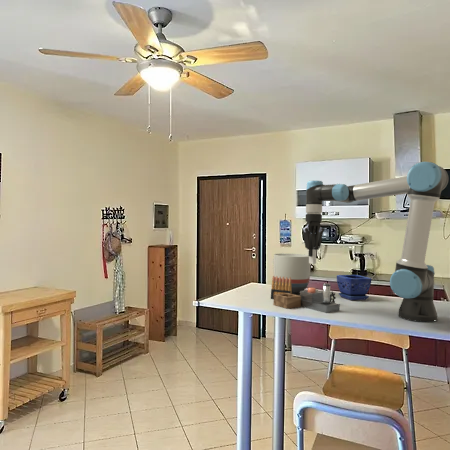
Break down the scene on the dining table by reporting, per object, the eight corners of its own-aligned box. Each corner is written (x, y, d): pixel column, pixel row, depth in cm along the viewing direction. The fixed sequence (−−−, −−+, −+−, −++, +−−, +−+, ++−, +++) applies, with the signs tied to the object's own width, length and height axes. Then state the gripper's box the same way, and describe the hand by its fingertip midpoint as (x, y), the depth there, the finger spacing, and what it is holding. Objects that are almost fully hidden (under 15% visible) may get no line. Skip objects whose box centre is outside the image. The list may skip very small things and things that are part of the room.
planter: (308, 297, 213) (309, 257, 213) (269, 295, 219) (270, 255, 218) (311, 291, 232) (312, 254, 232) (275, 289, 238) (276, 252, 238)
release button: (316, 295, 191) (317, 288, 191) (311, 296, 189) (311, 288, 189) (311, 294, 194) (311, 287, 194) (305, 295, 192) (306, 287, 192)
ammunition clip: (291, 300, 205) (292, 276, 205) (290, 301, 203) (291, 277, 203) (271, 298, 209) (272, 275, 209) (270, 298, 208) (271, 275, 207)
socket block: (339, 310, 184) (340, 295, 183) (326, 312, 178) (326, 297, 178) (309, 303, 198) (310, 289, 198) (296, 305, 193) (297, 290, 193)
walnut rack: (300, 306, 190) (300, 296, 190) (286, 308, 185) (287, 297, 185) (287, 303, 198) (287, 292, 198) (273, 305, 192) (273, 294, 192)
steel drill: (331, 310, 184) (332, 284, 184) (326, 311, 182) (327, 284, 182) (325, 309, 187) (326, 283, 186) (320, 309, 185) (321, 283, 184)
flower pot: (355, 295, 223) (356, 274, 223) (371, 300, 210) (372, 277, 210) (335, 296, 219) (335, 274, 219) (350, 301, 206) (350, 278, 206)
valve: (307, 302, 201) (329, 306, 193) (307, 289, 201) (330, 292, 193) (313, 300, 206) (335, 304, 198) (313, 287, 206) (336, 291, 198)
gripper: (317, 214, 198) (316, 262, 198) (297, 213, 190) (296, 263, 190) (329, 214, 192) (328, 263, 192) (309, 213, 184) (308, 264, 184)
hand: (312, 263), depth 191 cm, fingers closed
